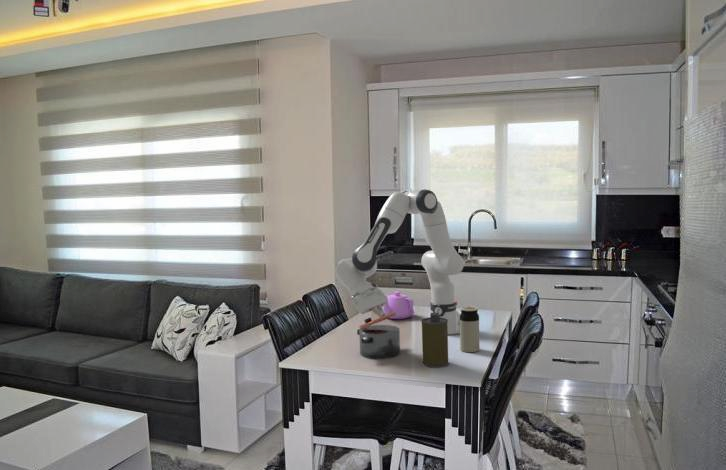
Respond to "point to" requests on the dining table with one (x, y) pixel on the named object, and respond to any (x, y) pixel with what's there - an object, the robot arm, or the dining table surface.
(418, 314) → the dining table surface
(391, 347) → the cooker pot
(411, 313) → the teapot
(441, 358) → the canister
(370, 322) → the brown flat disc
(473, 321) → the travel mug
